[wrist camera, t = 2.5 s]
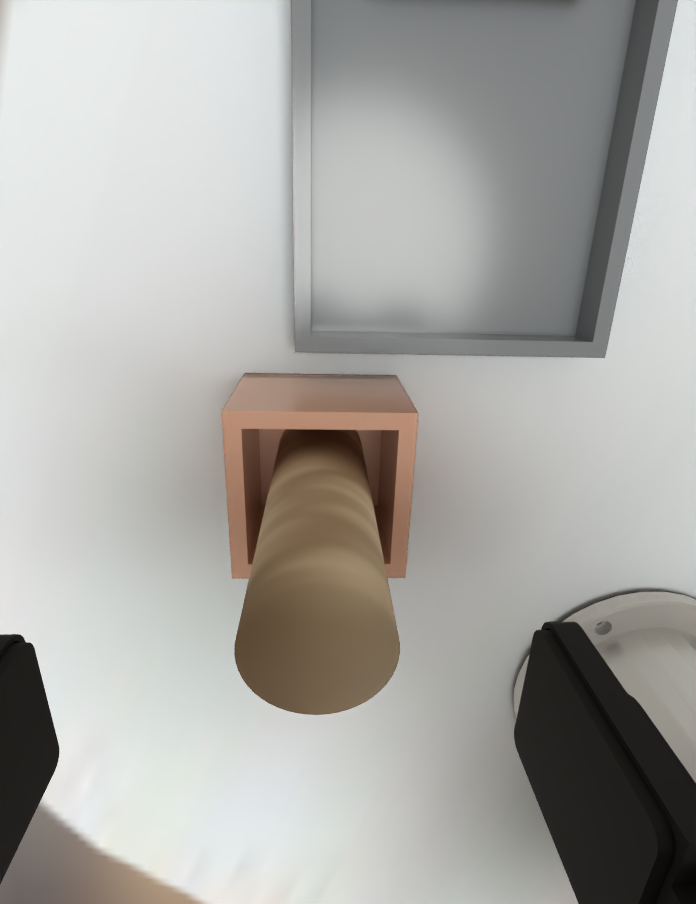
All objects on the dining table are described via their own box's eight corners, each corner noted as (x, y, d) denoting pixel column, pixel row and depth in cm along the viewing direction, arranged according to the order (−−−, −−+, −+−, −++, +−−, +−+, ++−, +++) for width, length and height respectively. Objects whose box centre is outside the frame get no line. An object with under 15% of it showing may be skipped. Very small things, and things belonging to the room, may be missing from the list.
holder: (396, 375, 22) (418, 413, 17) (388, 509, 25) (405, 577, 20) (245, 373, 22) (221, 410, 17) (251, 509, 24) (232, 578, 19)
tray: (674, -162, 17) (722, -217, 15) (580, 348, 22) (604, 357, 20) (292, -189, 16) (288, -250, 14) (297, 342, 22) (294, 352, 20)
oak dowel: (363, 412, 22) (405, 584, 11) (360, 489, 23) (394, 713, 12) (277, 410, 22) (229, 584, 11) (279, 489, 23) (238, 716, 12)
